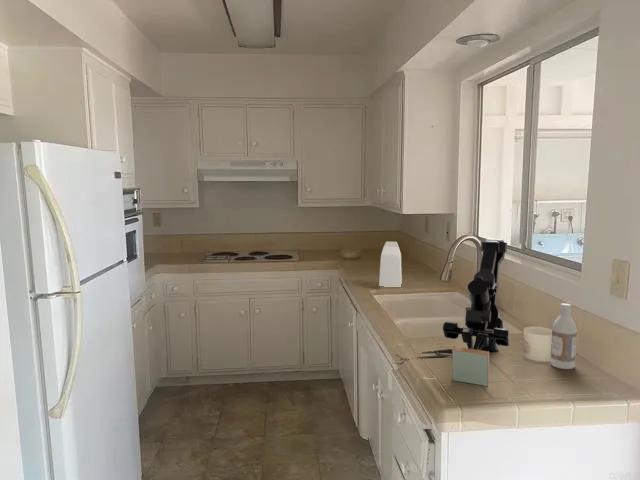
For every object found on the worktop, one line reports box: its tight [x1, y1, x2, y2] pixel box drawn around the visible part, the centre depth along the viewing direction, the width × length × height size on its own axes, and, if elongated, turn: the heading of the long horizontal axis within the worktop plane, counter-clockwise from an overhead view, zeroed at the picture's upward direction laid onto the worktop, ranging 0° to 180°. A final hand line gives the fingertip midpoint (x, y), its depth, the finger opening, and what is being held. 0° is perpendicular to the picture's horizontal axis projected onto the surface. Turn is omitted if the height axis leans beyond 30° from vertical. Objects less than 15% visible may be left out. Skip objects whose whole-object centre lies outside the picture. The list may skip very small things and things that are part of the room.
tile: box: [451, 346, 490, 387], centre depth 141 cm, size 2×10×10 cm, turn 63°
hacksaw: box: [391, 348, 453, 365], centre depth 163 cm, size 24×10×1 cm, turn 97°
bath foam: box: [550, 302, 578, 370], centre depth 155 cm, size 7×7×20 cm
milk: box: [378, 241, 403, 287], centre depth 274 cm, size 12×12×26 cm
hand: (471, 359), depth 142 cm, fingers closed
